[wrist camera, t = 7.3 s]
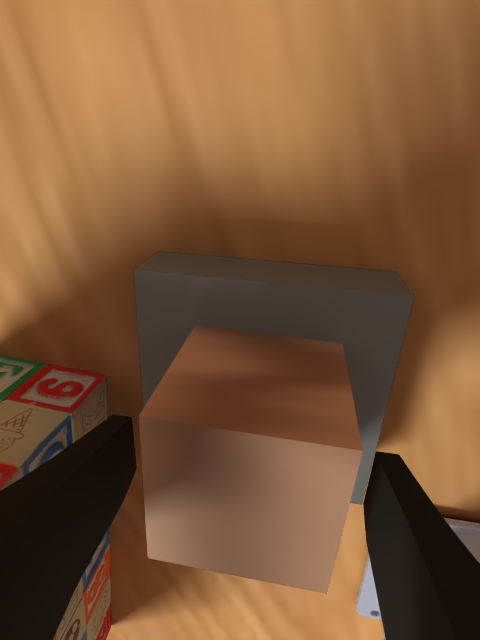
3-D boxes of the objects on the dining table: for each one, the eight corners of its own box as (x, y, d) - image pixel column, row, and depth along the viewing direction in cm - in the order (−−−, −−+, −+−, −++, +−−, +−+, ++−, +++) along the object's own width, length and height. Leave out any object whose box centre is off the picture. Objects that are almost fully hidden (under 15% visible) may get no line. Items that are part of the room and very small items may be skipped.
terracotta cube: (342, 342, 13) (362, 451, 8) (320, 457, 15) (327, 593, 10) (195, 324, 13) (138, 416, 9) (194, 437, 15) (147, 558, 11)
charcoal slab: (393, 267, 14) (414, 296, 12) (353, 451, 18) (362, 504, 15) (163, 248, 15) (133, 269, 13) (170, 425, 19) (148, 470, 16)
